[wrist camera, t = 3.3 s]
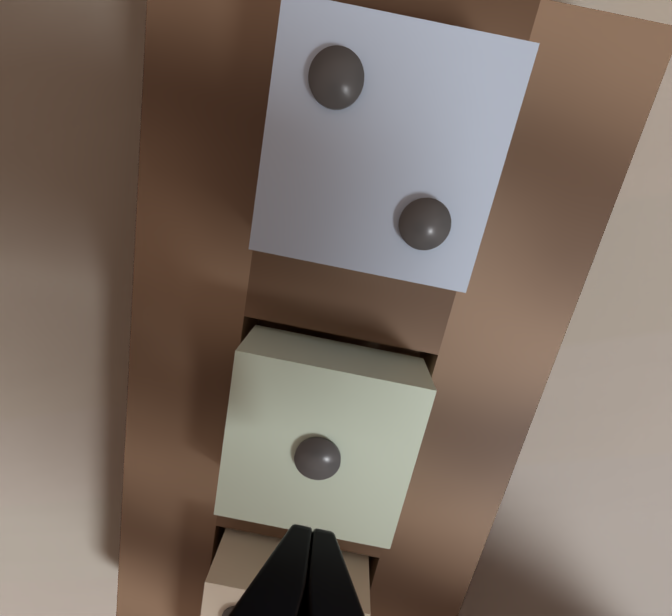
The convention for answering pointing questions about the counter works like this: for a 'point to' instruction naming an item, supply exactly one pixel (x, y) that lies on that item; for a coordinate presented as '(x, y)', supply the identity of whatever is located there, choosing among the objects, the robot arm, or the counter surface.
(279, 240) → the tile
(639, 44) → the board
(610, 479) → the counter surface
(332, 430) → the tile
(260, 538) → the tile
